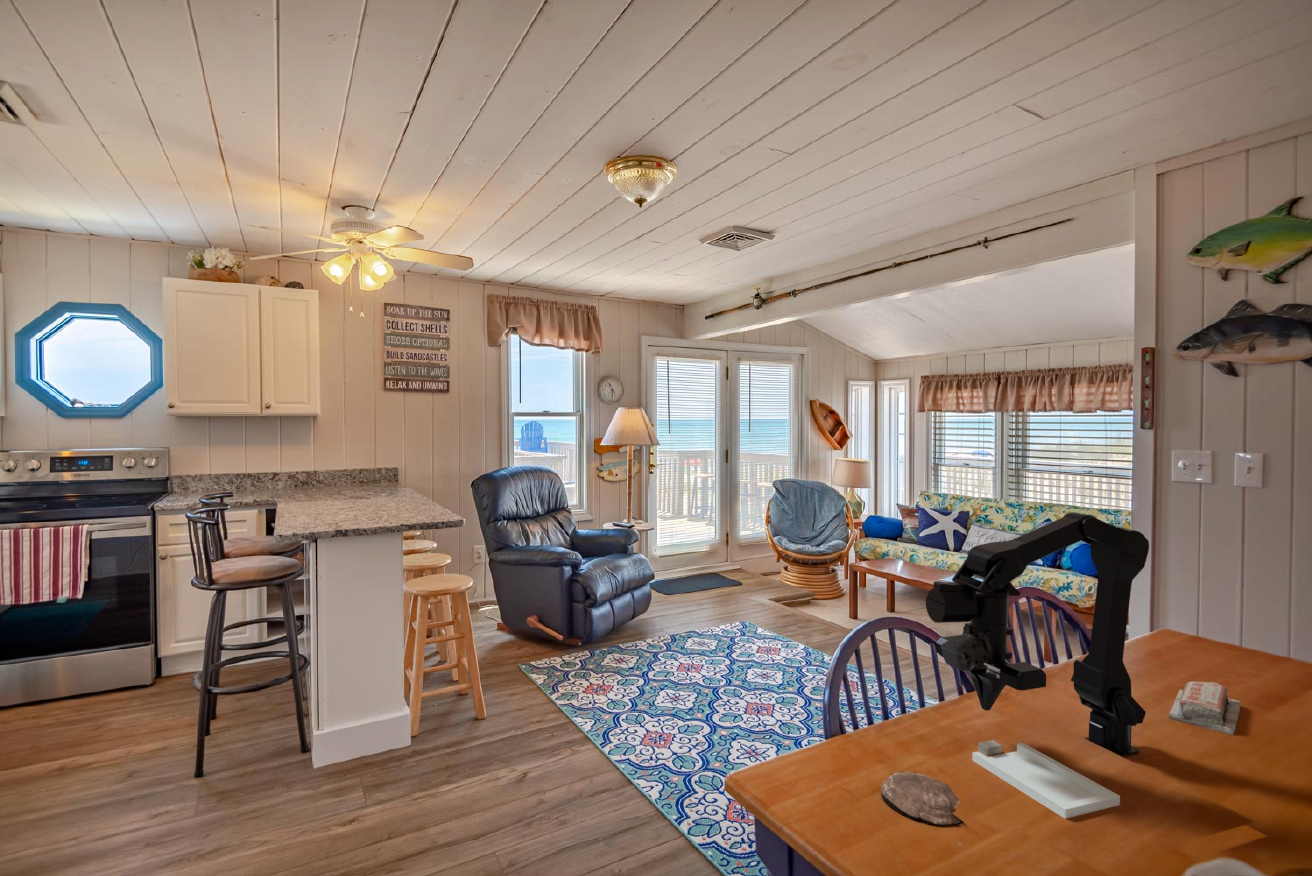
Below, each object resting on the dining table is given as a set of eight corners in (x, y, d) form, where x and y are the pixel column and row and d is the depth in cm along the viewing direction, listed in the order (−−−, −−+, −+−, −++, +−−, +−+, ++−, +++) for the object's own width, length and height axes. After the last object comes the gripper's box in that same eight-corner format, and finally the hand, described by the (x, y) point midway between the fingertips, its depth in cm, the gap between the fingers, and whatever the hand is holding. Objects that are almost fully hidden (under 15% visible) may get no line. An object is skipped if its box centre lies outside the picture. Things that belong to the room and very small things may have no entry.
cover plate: (968, 736, 123) (968, 718, 123) (1011, 763, 114) (1012, 743, 114) (934, 741, 121) (934, 723, 121) (976, 769, 111) (976, 750, 111)
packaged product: (1235, 712, 124) (1168, 696, 131) (1234, 738, 124) (1168, 721, 131) (1241, 685, 137) (1180, 672, 144) (1240, 708, 137) (1179, 694, 144)
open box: (1021, 758, 114) (1022, 742, 114) (1119, 814, 98) (1120, 796, 98) (972, 769, 111) (972, 752, 111) (1064, 828, 95) (1065, 809, 94)
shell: (924, 838, 93) (924, 812, 93) (864, 790, 105) (864, 768, 104) (985, 820, 97) (985, 796, 97) (921, 776, 109) (921, 755, 109)
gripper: (913, 609, 120) (910, 694, 121) (996, 642, 103) (993, 741, 103) (961, 604, 124) (959, 686, 124) (1050, 635, 106) (1047, 731, 107)
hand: (986, 709), depth 115 cm, fingers closed
